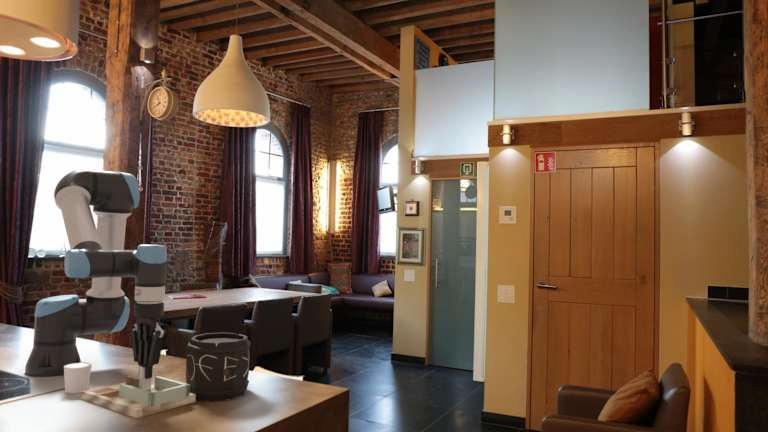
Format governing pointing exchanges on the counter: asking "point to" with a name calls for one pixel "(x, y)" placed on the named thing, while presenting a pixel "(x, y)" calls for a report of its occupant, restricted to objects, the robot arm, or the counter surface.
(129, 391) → the cubby
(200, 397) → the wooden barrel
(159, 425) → the counter surface
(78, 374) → the shot glass
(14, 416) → the counter surface
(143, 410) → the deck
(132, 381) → the block
